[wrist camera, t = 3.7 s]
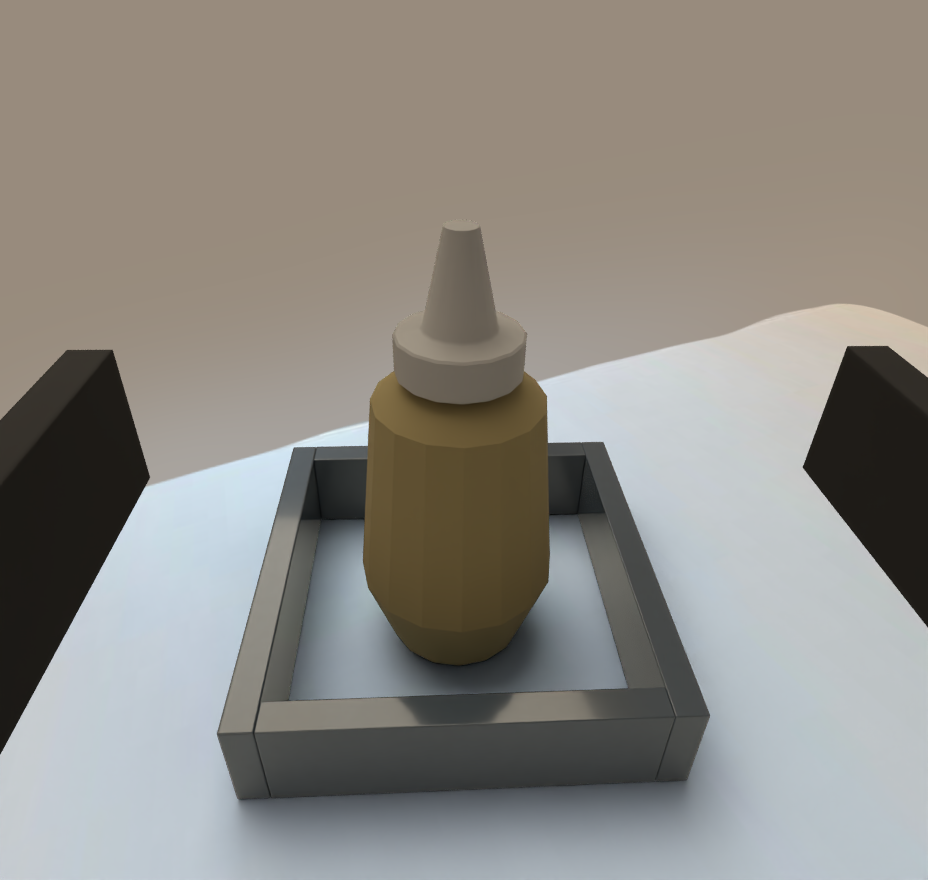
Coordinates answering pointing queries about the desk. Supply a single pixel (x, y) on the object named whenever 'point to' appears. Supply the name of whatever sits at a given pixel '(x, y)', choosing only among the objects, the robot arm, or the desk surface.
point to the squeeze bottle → (457, 469)
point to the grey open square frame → (468, 715)
